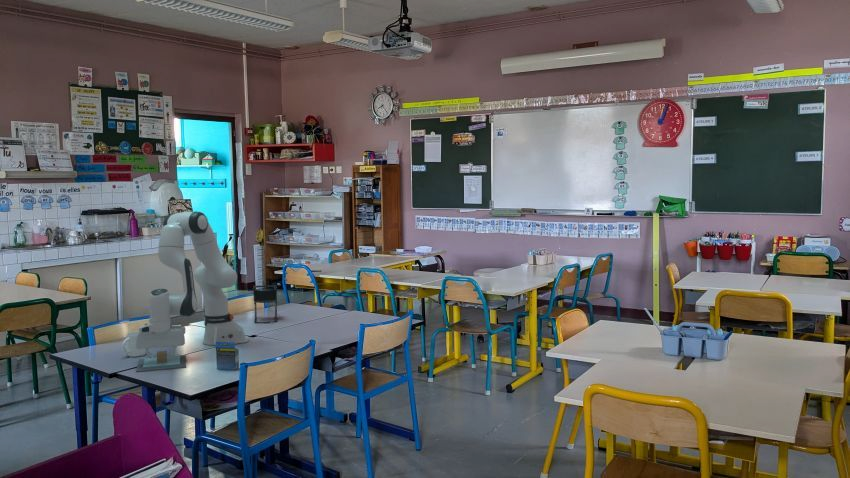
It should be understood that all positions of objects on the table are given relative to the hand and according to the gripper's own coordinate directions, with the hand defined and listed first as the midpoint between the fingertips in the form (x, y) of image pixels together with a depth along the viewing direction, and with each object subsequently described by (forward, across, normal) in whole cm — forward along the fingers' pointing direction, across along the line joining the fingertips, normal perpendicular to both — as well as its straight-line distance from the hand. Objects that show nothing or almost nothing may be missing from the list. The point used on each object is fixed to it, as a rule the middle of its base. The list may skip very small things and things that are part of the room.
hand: (161, 356), depth 293 cm
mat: (+3, 0, 0) cm, 3 cm away
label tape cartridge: (+3, -27, +18) cm, 33 cm away
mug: (+4, +13, -20) cm, 24 cm away
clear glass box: (+3, -54, -79) cm, 96 cm away
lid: (+3, 0, 0) cm, 3 cm away
